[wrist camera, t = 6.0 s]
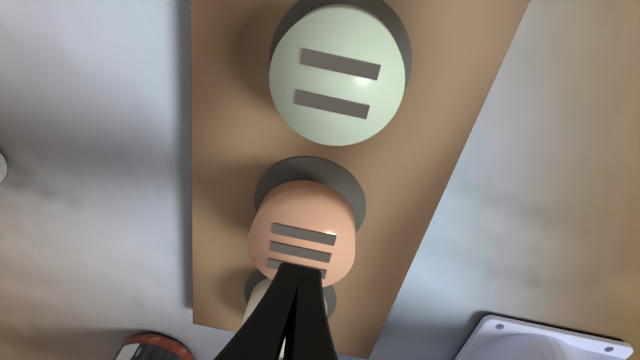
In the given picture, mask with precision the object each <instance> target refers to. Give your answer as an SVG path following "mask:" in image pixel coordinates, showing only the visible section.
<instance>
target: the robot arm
mask: <svg viewBox="0 0 640 360" xmlns="http://www.w3.org/2000/svg"><path fill="white" fill-rule="evenodd" d="M285 336H286V338H285ZM284 340H285V346H284V355H283V360H338V358H337V355H336V351H335V348H334V344H333V340H332V336H331V332H330V328H329V323H328V319H327V314H326V309H325V303H324V297H323V289H322V273H321V271H320V270H317V269H313V268H308V267H304V266H299V265H294V264H290V263H285V262H283V263H281V264H280V265H279V268H278V270H277V272H276V275H275V277H274V279H273V280H272V282H271V284H270V286H269V287H268V289H267V291H266V292H265V294H264V296H263V297H262V299H261V300H260V302H259V303H258V305H257V306H256V308H255V309H254V311H253V312H252V313H251V315H250V316H249V317H248V319H247V320H246V321H245V323H244V324H243V325H242V327H241V328H240V329H239V330H238V332H237V333H236V334H235V336H234V337H233V338H232V339H231V340H230V342H229V343H228V344H227V345H226V346H225V348H224V349H223V350H222V351H221V352H220V353H219V354H218V355H217V357H216V358H215V359H214V360H279V356H280V353H281V350H282V346H283V343H284ZM632 353H633V349H632V347H631V346H630V345H629V344H628V343H625V342H620V341H616V340H611V339H606V338H601V337H596V336H591V335H586V334H582V333H577V332H572V331H567V330H562V329H557V328H553V327H548V326H543V325H538V324H533V323H528V322H524V321H519V320H514V319H509V318H504V317H499V316H494V315H487V316H485V317H483V318H482V320H481V321H480V323H479V324H478V326H477V327H476V328H475V330H474V331H473V333H472V334H471V336H470V337H469V339H468V340H467V342H466V343H465V345H464V346H463V348H462V349H461V351H460V352H459V354H458V355H457V356H456V358H455V359H454V360H626V359H627V358H628V357H629V356H630V355H631V354H632Z"/></svg>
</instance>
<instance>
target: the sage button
mask: <svg viewBox="0 0 640 360" xmlns="http://www.w3.org/2000/svg"><path fill="white" fill-rule="evenodd" d="M269 84H270V91H271V96H272V99H273V102H274V104H275V106H276V108H277V110H278V112H279V114H280V115H281V117H282V118H283V120H284V121H285V122H286V123H287V124H288V125H289V126H290V127H291V128H292V129H293V130H294V131H296V132H297V133H298V134H300V135H301V136H303V137H305V138H307V139H309V140H311V141H313V142H316V143H320V144H324V145H330V146H344V145H351V144H355V143H358V142H361V141H364V140H366V139H368V138H370V137H372V136H373V135H375V134H376V133H378V132H379V131H380V130H382V129H383V128H384V127H385V126H386V125H387V124H388V123H389V122H390V120H391V119H392V117H393V116H394V115H395V113H396V111H397V109H398V108H399V105H400V103H401V100H402V97H403V93H404V87H405V69H404V63H403V60H402V56H401V53H400V51H399V49H398V47H397V44H396V42H395V40H394V38H393V35H392V34H391V32H390V30H389V29H388V27H387V26H386V25H385V24H384V23H383V22H382V21H381V20H380V19H379V18H378V17H377V16H376V15H374V14H373V13H371V12H370V11H368V10H366V9H364V8H361V7H358V6H355V5H350V4H330V5H325V6H322V7H319V8H317V9H315V10H312V11H311V12H309V13H308V14H306V15H304V16H303V17H302V18H301V19H300V20H299V21H298V22H297V23H296V24H294V25H293V26H292V27H291V28H290V29H289V30H288V32H287V33H286V34H285V35H284V36H283V37H282V39H281V40H280V42H279V43H278V45H277V47H276V49H275V51H274V54H273V57H272V60H271V65H270V70H269Z"/></svg>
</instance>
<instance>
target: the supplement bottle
mask: <svg viewBox="0 0 640 360" xmlns="http://www.w3.org/2000/svg"><path fill="white" fill-rule="evenodd" d="M113 360H195V359H194V357H193V355H192V354H191V352H190V351H189V350H188V349H187V348H186V347H184V346H183V345H182V344H181V343H179V342H177V341H175V340H172V339H170V338H167V337H164V336H160V335H153V334H142V335H136V336H133V337H131V338H129V339H128V340H127V341H126V342H125V343H124V344H123V345H122V347H121V349H120V350H119V351H118V352H117V354H116V356H115V357H114V359H113Z"/></svg>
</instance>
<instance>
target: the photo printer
mask: <svg viewBox="0 0 640 360" xmlns="http://www.w3.org/2000/svg"><path fill="white" fill-rule="evenodd" d="M6 174H7V163H6V161H5V158H4V157H3V155H2V154H1V153H0V182H1V181H2V180H3V179H4V178H5V176H6Z"/></svg>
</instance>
